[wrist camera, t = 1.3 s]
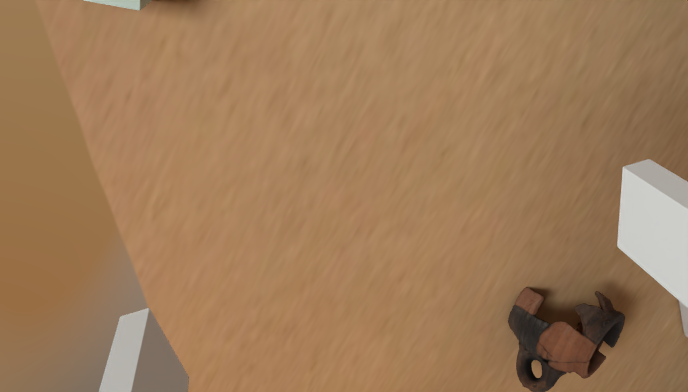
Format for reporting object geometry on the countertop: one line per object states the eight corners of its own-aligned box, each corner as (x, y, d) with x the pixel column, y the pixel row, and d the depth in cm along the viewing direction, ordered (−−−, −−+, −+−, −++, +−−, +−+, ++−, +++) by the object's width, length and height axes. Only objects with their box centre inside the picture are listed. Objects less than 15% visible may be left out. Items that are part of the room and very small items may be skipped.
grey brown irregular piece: (534, 259, 50) (616, 305, 44) (565, 269, 57) (640, 310, 51) (476, 362, 52) (548, 419, 46) (513, 360, 58) (580, 409, 53)
